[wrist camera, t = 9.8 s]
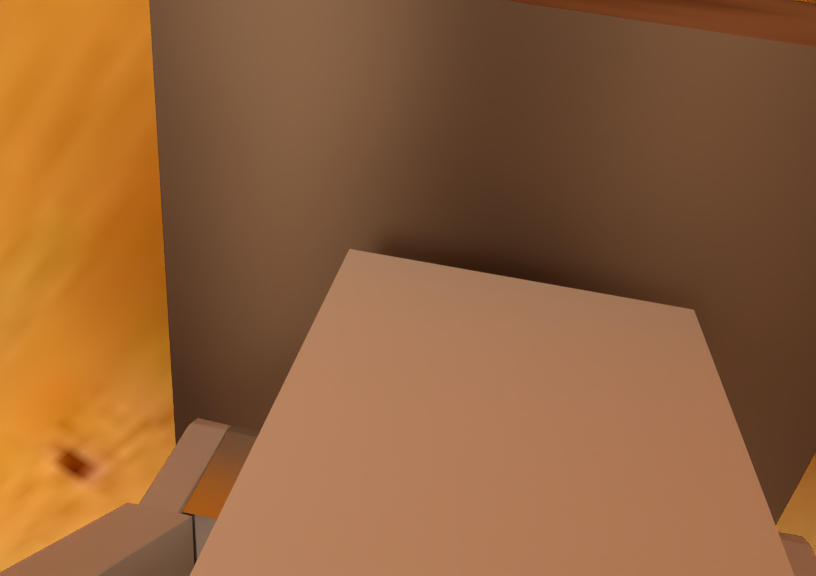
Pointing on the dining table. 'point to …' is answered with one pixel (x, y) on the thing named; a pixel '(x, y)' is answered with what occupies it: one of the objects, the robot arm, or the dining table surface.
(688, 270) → the pedestal
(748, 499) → the white block
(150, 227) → the dining table surface
